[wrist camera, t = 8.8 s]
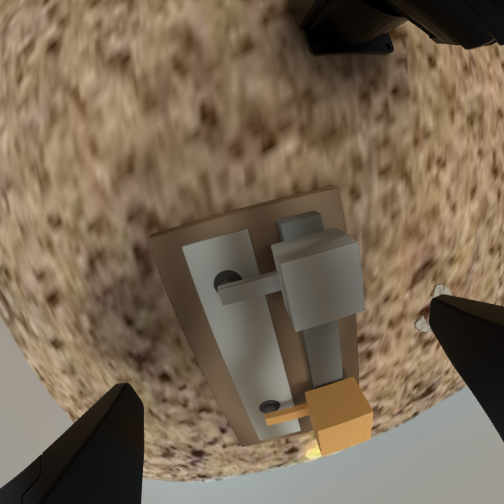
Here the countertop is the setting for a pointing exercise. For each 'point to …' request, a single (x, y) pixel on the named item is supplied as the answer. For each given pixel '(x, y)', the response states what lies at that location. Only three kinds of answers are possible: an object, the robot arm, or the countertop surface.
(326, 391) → the orange block with tab
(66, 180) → the countertop surface
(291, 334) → the board
